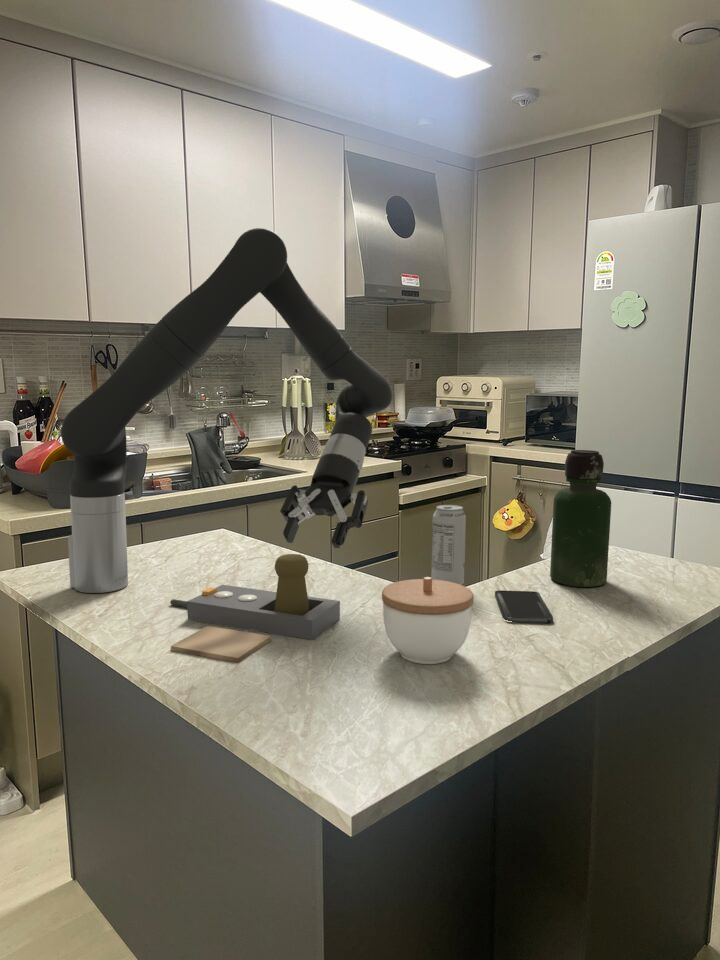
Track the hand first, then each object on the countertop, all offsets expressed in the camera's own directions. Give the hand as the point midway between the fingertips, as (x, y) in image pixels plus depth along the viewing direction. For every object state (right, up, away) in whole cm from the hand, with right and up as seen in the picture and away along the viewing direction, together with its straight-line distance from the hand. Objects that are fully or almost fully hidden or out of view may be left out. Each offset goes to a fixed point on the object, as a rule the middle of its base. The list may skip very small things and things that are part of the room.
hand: (311, 542), depth 116 cm
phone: (+35, -12, +4) cm, 38 cm away
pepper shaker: (-3, -12, -5) cm, 14 cm away
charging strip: (-11, -12, -2) cm, 16 cm away
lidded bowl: (+17, -14, -17) cm, 28 cm away
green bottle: (+50, -9, +21) cm, 55 cm away
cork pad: (-12, -13, -14) cm, 23 cm away
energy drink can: (+24, -10, +16) cm, 31 cm away
